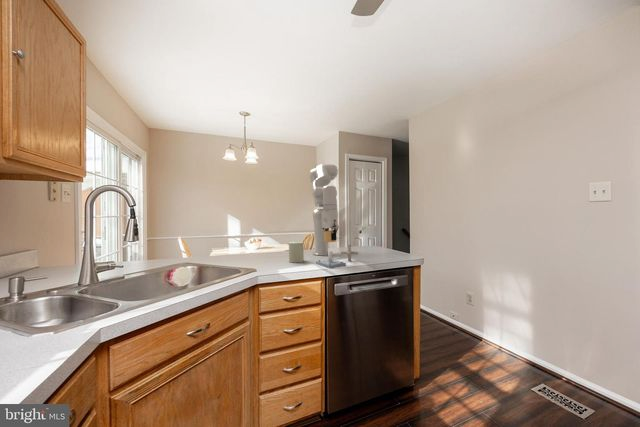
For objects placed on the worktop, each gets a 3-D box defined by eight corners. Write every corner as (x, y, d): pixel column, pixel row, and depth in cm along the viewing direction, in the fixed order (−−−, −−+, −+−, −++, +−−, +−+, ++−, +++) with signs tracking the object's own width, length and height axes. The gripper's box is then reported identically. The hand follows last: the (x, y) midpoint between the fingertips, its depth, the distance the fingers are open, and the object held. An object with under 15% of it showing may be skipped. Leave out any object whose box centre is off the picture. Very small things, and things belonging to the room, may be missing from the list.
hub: (322, 241, 154) (322, 230, 154) (331, 240, 157) (331, 230, 157) (328, 242, 149) (328, 231, 149) (338, 241, 152) (338, 230, 152)
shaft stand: (315, 263, 157) (315, 250, 157) (331, 261, 162) (331, 249, 162) (329, 268, 145) (328, 254, 145) (345, 265, 150) (345, 252, 150)
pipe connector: (357, 263, 157) (357, 245, 157) (340, 262, 159) (339, 245, 159) (358, 259, 167) (358, 243, 167) (342, 259, 169) (342, 243, 169)
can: (292, 263, 160) (291, 242, 159) (286, 260, 168) (286, 241, 167) (306, 261, 164) (306, 241, 164) (300, 259, 172) (300, 240, 172)
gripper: (316, 208, 158) (316, 239, 158) (332, 207, 144) (333, 241, 144) (326, 208, 162) (327, 238, 162) (344, 207, 147) (344, 240, 148)
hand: (330, 239), depth 153 cm, fingers closed on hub, 6 cm apart
